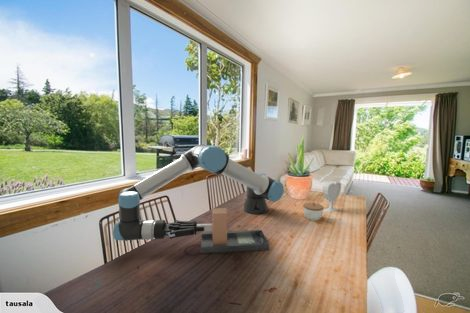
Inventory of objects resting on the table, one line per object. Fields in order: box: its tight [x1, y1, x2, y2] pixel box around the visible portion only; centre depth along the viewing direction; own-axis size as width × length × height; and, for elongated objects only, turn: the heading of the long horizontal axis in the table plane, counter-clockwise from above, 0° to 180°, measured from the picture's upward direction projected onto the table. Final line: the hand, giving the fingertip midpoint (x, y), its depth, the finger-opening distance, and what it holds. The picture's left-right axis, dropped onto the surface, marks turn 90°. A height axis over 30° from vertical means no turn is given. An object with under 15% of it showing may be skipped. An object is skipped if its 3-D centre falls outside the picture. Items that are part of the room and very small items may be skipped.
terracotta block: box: [212, 207, 228, 245], centre depth 93 cm, size 6×6×14 cm
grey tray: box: [200, 229, 270, 254], centre depth 94 cm, size 28×13×2 cm, turn 97°
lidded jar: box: [303, 202, 325, 222], centre depth 123 cm, size 11×11×9 cm
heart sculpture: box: [322, 180, 342, 214], centre depth 137 cm, size 16×5×18 cm, turn 126°
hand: (212, 227), depth 92 cm, fingers closed
